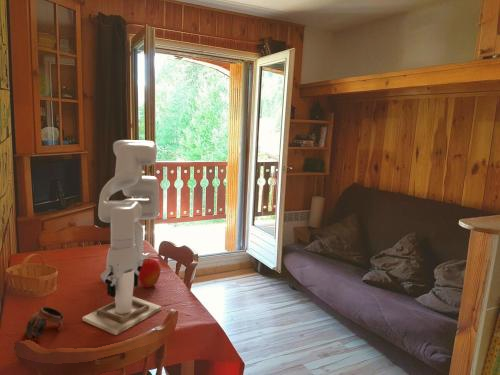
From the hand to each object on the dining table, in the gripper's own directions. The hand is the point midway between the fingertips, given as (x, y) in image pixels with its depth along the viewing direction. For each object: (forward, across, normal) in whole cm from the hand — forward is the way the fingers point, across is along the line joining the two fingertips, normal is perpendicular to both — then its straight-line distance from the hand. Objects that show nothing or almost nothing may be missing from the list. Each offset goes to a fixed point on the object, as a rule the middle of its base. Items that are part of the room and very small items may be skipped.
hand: (123, 290), depth 125 cm
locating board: (+9, 0, 0) cm, 9 cm away
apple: (+9, -22, -10) cm, 26 cm away
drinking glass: (+8, 0, 0) cm, 8 cm away
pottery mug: (+9, +21, -12) cm, 26 cm away
